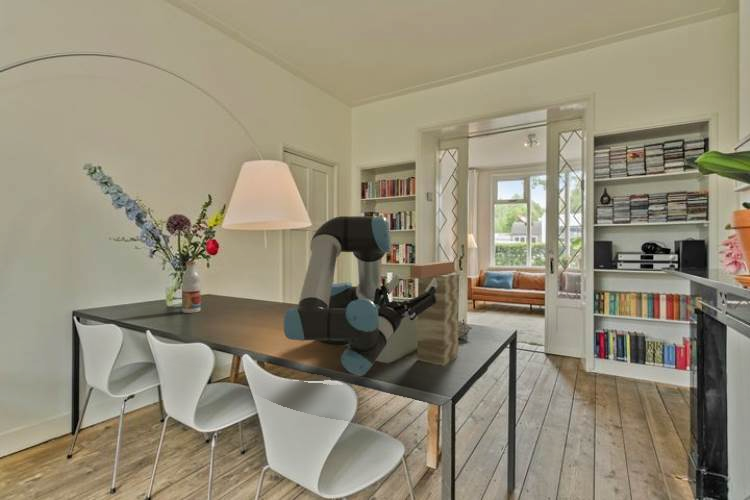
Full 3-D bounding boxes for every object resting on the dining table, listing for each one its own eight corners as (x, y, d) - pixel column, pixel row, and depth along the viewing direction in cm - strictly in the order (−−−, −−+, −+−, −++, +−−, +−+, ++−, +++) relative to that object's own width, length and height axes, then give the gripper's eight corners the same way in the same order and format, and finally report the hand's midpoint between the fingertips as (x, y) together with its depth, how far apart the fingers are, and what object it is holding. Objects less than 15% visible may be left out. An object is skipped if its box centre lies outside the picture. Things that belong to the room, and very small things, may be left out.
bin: (388, 363, 123) (388, 316, 122) (360, 356, 130) (360, 312, 129) (429, 342, 148) (430, 303, 147) (404, 337, 155) (404, 300, 154)
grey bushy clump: (464, 348, 153) (472, 333, 147) (444, 340, 154) (452, 324, 148) (467, 333, 160) (475, 318, 154) (449, 325, 161) (456, 310, 155)
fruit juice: (187, 309, 210) (186, 261, 209) (203, 309, 211) (203, 261, 210) (178, 313, 201) (178, 262, 200) (196, 313, 201) (195, 263, 200)
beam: (421, 278, 113) (421, 265, 113) (410, 277, 115) (410, 265, 115) (454, 272, 134) (454, 261, 134) (444, 271, 136) (444, 261, 136)
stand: (443, 365, 121) (445, 276, 120) (417, 359, 127) (418, 274, 126) (457, 356, 131) (459, 273, 130) (432, 351, 137) (433, 271, 136)
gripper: (351, 328, 108) (386, 286, 122) (426, 343, 93) (455, 293, 108) (343, 309, 104) (379, 267, 119) (419, 321, 90) (450, 272, 104)
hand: (415, 280), depth 113 cm, fingers open, 13 cm apart
